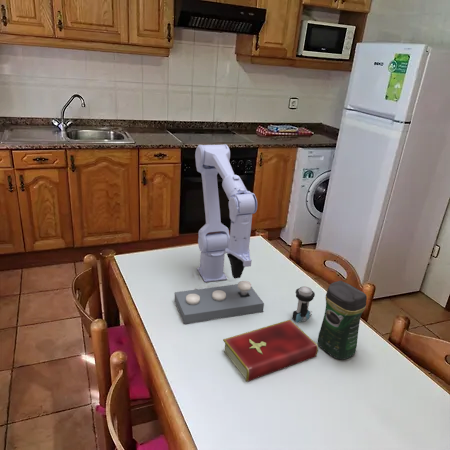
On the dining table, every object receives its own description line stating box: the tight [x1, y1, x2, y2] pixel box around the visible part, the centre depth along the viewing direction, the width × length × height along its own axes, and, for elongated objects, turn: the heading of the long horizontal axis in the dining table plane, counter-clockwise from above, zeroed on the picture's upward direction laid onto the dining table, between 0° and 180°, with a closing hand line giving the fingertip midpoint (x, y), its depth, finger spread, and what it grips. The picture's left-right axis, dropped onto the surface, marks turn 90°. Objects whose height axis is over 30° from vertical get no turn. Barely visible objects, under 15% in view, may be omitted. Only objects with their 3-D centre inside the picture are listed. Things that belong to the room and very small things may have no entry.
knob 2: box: [237, 280, 252, 295], centre depth 122 cm, size 4×4×3 cm
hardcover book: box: [222, 319, 319, 382], centre depth 103 cm, size 12×21×4 cm, turn 119°
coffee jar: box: [317, 280, 368, 360], centre depth 104 cm, size 10×8×19 cm
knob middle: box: [212, 290, 226, 301], centre depth 121 cm, size 4×4×3 cm
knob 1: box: [186, 294, 200, 305], centre depth 118 cm, size 4×4×3 cm
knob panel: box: [174, 283, 265, 325], centre depth 121 cm, size 12×24×3 cm, turn 110°
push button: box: [291, 286, 316, 324], centre depth 117 cm, size 7×5×10 cm
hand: (236, 276), depth 120 cm, fingers closed
